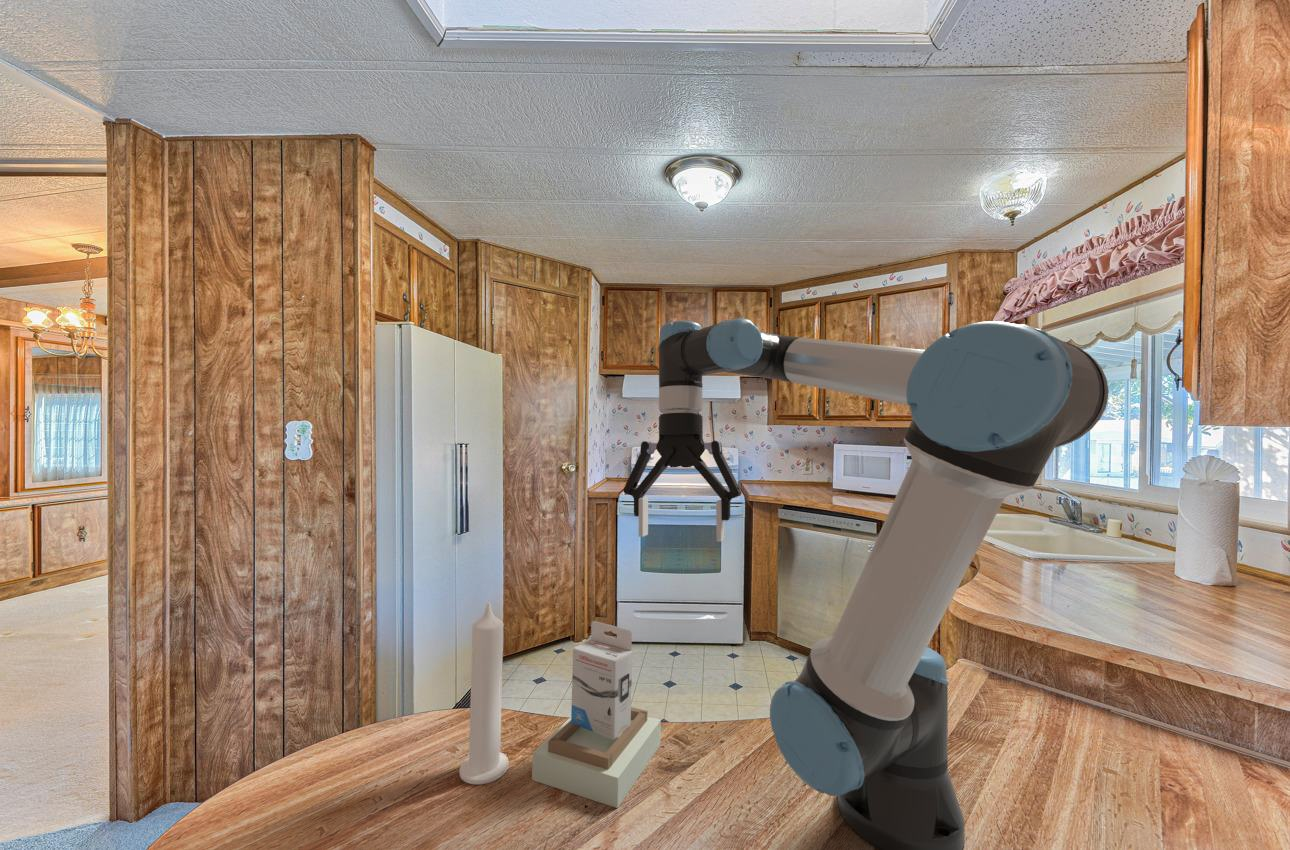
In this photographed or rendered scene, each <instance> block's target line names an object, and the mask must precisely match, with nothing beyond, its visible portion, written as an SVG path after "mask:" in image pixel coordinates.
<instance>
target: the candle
mask: <svg viewBox="0 0 1290 850" xmlns="http://www.w3.org/2000/svg"><path fill="white" fill-rule="evenodd" d="M471 636H472V638H471V669H470V670H471V671H470V672H471V673H470V674H471V675H470V704H469V705H470V707H469V741H468V743H469V744H468V745H469V746H468V757H466V759H464V760H463V761H462V763H461V765H460V767H459V771H458V772H459V777H460V779H461V780H462V781H463V782H465V783H466V784H470V785H484V784H489V783H493V782H494V781H495V782H496V781H497V780H498V779H500V778H501V777H503V776H504V775H505V774H506V772H507V771H508V769H509V762H510V761H509V757H508V756H507V755H506V754H505V753H503V752H501V732H502V731H501V729H502V697H503V695H502V693H503V660H504V659H503V657H504V656H503V655H504V653H503V649H504V648H503V647H504V622H503V620H501V619H500V618H498V617H497V616H496V615H494V613H493V609H492V604H491V602H490V601H488V602H486V607H485V609H484V613H483V615H482V617H480V618H479V619H477V620H476V621H475V622H474V623H473V625H472V635H471Z"/></svg>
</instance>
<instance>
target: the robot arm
mask: <svg viewBox="0 0 1290 850" xmlns="http://www.w3.org/2000/svg"><path fill="white" fill-rule="evenodd" d="M658 339H659V341H658V345H657V351H658V411H659V412H661V414H659V416H658V441H657V443H656V442H651V441H647V440H646V441H645V440H643V441H642V442H641V444H640V451H639V456H638V457H637V460H636V462H635V464H634V466H633V468H632V471H631V472H630V475H629V477H628V479H627V481H626V483H625V485H624V487H623V490H622V491H623V493H624V494H626V495H629V496H631V497H633V514H634V517H638V538H639V537H642V538H643V537H646V536H648V535H649V497H646V496H645V494H646V493H647V492H648V491H649V489H650V488H651V487H652V486H653V484H654V483H655V482H656V481H657V480H658V478H659V477H660V476H661V475H662V473H663V472H664V471H665V470H666V469H667V468H668V467H670V468H679V467H680V468H692V467H694V469H695V470H697V471H698V473H699V474H700V475H701V476H702V478H703V479H704V480H705V481H706V483H707V484H709V486H710V487H711V489H712V490H713V491H714V492H715V494H717V497H719V500H716V501H715V504H716V510H715V511H716V512H715V513H716V516H715V517H716V518H715V520H716V521H715V522H716V525H715V526H716V529H715V530H716V532H715V533H716V534H715V535H716V542H720V543H721V542H723V541H724V540H725V521H729V520H730V518H731V501H732V499H735V498H737V497H740V496H741V495H742V490H741V488H740V486H739V485H738V482H737V480H736V478H735V476H734V474H733V472H732V470H731V469H730V466H729V464H728V461H727V460H726V458H725V455H724V453H723V446H722V442H721V441H719V440H713V441H711V442H705V441H704V438H703V437H704V436H703V435H704V434H703V433H704V432H703V430H704V429H703V427H704V426H703V421H704V420H703V416H702V414H700V412H701V411H703V376H706V375H712V374H718V373H724V374H725V373H726V374H733V375H734V374H735V375H741V376H749V377H758V378H763V379H769V380H770V379H771V380H775V381H776V380H777V381H780V382H781V381H782V382H787V383H791V384H797V385H798V384H799V385H802V386H808V387H812V388H817V389H823V390H829V391H832V392H833V391H834V392H839V393H843V394H849V395H853V396H854V395H855V396H858V397H864V398H869V399H873V400H879V401H884V402H889V403H894V404H898V405H904V406H908V407H909V411H910V415H911V418H912V419H911V422H910V424H909V426H908V429H907V431H906V433H905V436H904V438H903V442H904V444H905V446H906V448H907V450H908V452H909V454H910V456H911V462H910V465H909V467H908V469H907V471H906V473H905V475H904V479H903V481H902V483H901V485H900V487H899V489H898V491H897V494H896V495H895V498H894V500H893V503H892V504H891V506H890V509H889V511H888V513H887V516H886V518H885V520H884V521H883V525H882V527H881V529H880V530H879V531H880V532H879V533H878V536H877V538H876V539H875V540H876V541H875V542H874V544H873V546H872V549H871V550H870V553H869V556H868V558H867V560H866V562H865V564H864V566H863V569H862V571H861V573H860V575H859V576H858V577H859V578H858V580H857V582H856V584H855V585H854V589H853V590H852V593H851V595H850V598H849V599H848V602H847V604H846V606H845V609H844V611H843V613H842V615H841V617H840V619H839V622H838V624H837V626H836V628H835V631H834V633H833V635H832V636H830V637H822V638H821V639H818V640H817V641H816V642H815V643H814V644H813V646H812V647H811V649H810V652H809V655H807V658H806V660H805V663H804V665H803V668H802V670H801V672H800V674H799V675H798V677H797V678H796V679H795V680H789V681H785V682H784V683H783V684H782V685H781V686H780V687H778V689H776V690H775V692H774V693H773V695H772V698H771V701H770V706H769V719H770V727H771V730H772V732H773V734H774V736H775V741H776V745H777V747H778V749H779V751H780V753H781V754H782V756H783V759H784V760H785V762H786V763H787V764H788V765H789V767H790V768H791V770H792V771H793V772H794V773H795V774H796V776H798V778H799V779H800V780H802V782H804V783H805V784H806V785H807V786H809V787H810V788H811V789H813V791H814V790H815V791H817V792H818V793H820V794H826V795H828V796H830V797H837V805H838V810H839V812H840V814H841V816H842V818H843V820H844V821H845V822H846V823H847V825H848V826H849V827H850V828H851V829H852V830H853V831H854V832H855V833H856V834H857V835H858V836H859V837H861V838H862V839H864V840H865V841H866V842H867V843H869V844H871V846H873V847H876V848H878V849H880V850H963V849H964V846H965V839H966V838H965V837H966V835H965V828H966V827H965V819H964V818H965V817H964V814H963V812H962V809H961V805H960V803H959V799H958V796H957V793H956V791H955V788H954V785H953V781H952V779H951V776H950V774H949V768H948V767H949V766H948V765H949V764H948V758H949V757H948V754H949V751H948V750H949V748H948V747H949V745H948V737H949V734H948V731H949V730H948V729H949V727H948V725H949V724H948V718H949V717H948V713H949V712H948V708H949V707H948V694H949V693H948V686H949V685H950V682H949V680H948V675H947V673H948V672H947V664H946V662H945V659H944V658H943V656H942V655H941V654H939V652H937V651H935V650H934V649H933V648H931V647H928V646H929V644H930V642H931V641H932V638H933V636H934V634H935V632H936V630H937V628H938V626H939V624H940V623H941V621H942V620H943V617H944V616H945V613H946V611H947V609H948V607H949V606H950V604H951V603H952V600H953V598H954V597H955V594H956V593H957V590H958V588H959V587H960V584H961V583H962V581H963V579H964V577H965V575H966V573H967V572H968V570H969V567H970V565H971V564H972V563H973V560H974V557H975V555H976V554H977V553H978V550H979V549H980V546H981V544H982V542H983V540H985V539H984V538H985V537H986V535H987V533H988V531H989V529H990V528H991V526H992V525H993V524H992V523H993V521H994V520H995V518H996V517H997V514H998V512H999V510H1000V508H1001V507H1002V504H1003V503H1004V500H1005V498H1007V497H1009V496H1010V495H1011V496H1012V495H1014V494H1017V493H1021V492H1025V491H1028V490H1032V489H1033V488H1034V486H1035V484H1036V482H1037V481H1038V479H1039V477H1040V475H1041V473H1042V471H1043V469H1044V468H1045V466H1046V465H1047V462H1048V461H1049V459H1050V457H1051V455H1052V453H1053V452H1054V450H1055V449H1056V448H1059V447H1062V446H1065V445H1069V444H1071V443H1073V442H1075V441H1077V440H1079V439H1081V438H1082V437H1083V436H1085V435H1086V434H1087V433H1088V432H1091V430H1092V429H1093V428H1094V427H1095V426H1096V425H1097V424H1098V422H1099V421H1100V419H1101V418H1102V416H1103V414H1104V413H1105V411H1106V408H1107V405H1108V400H1109V393H1110V391H1109V384H1108V379H1107V377H1106V374H1105V372H1104V370H1103V368H1102V366H1101V365H1100V364H1099V363H1098V362H1097V360H1096V359H1095V358H1094V357H1093V356H1092V355H1090V353H1088V352H1087V351H1085V350H1083V349H1082V348H1080V347H1078V346H1076V345H1074V344H1073V343H1069V342H1067V341H1064V340H1061V339H1059V338H1057V337H1055V336H1053V335H1051V334H1049V333H1048V332H1046V331H1045V330H1042V329H1039V328H1034V327H1032V326H1029V325H1027V324H1017V323H1011V322H1005V321H993V320H992V321H980V322H975V323H970V324H966V325H963V326H960V327H958V328H955V329H953V330H951V331H949V332H946V333H945V334H943V335H941V336H940V337H939V338H938V339H936V340H935V341H933V342H932V343H931V344H930V345H929V346H927V347H926V348H925V349H918V348H909V347H901V346H900V347H899V346H888V345H877V344H868V343H858V342H850V341H849V342H848V341H840V340H838V341H837V340H831V339H829V340H828V339H821V338H820V339H819V338H809V337H808V338H807V337H799V336H793V335H792V336H790V335H783V334H782V335H781V334H776V333H769V332H764V331H761V330H760V329H759V327H757V325H755V324H754V323H753V321H752V320H750V319H747V318H740V317H739V318H734V319H726V320H724V321H720V322H718V323H716V324H715V323H714V324H713V325H712V324H711V325H710V326H706V327H703V328H702V326H701V324H700V323H697V322H695V321H690V320H677V321H669V322H666V323H664V324H663V325H662V326H661V327H660V329H659V338H658ZM656 450H657V452H658V454H659V455H660V457H659V459H657V461H656V463H654V466H653V467H652V469H651V470H650V471H649V472H648V474H647V475H646V476H645V477H644V479H643V480H642V481H641V478H642V476H643V473H644V472H645V470H646V467H647V466H648V463H649V461H650V459H651V455H653V454H654V453H655V451H656ZM706 450H707V451H708V453H709V454H710V455H712V457H713V460H714V462H715V464H716V466H717V468H718V470H719V472H720V473H721V476H722V478H723V480H724V482H725V484H726V486H727V487H728V489H726V487H725V486H724V485H723V484H722V482H721V481H720V480H719V479H718V478H717V476H716V475H715V474H714V472H713V471H711V469H710V468H709V467H708V465H707V463H706V462H705V461H704V459H702V458H701V457H702V455H703V453H704V452H705V451H706ZM640 481H641V482H640ZM639 482H640V484H639ZM638 484H639V485H638Z"/></svg>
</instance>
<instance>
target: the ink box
mask: <svg viewBox="0 0 1290 850" xmlns="http://www.w3.org/2000/svg"><path fill="white" fill-rule="evenodd" d="M605 632H606V633H609V632H612V634H615V635H617V637H613V636H610V635H608V634H607V635H606V634H605ZM590 633H591V635H590V639H588V640H587V641H584V642H582V643H580V644H579V645H576V646H574V647H573V649H572V680H571V682H572V683H571V711H570V712H571V715H570V717H571V723H573V724H575V725H578V726H580V727H583V728H585V729H588V730H590V731H592V732H595V733H597V734H600V735H602V736H605V737H607V738H610V739H612V740H614V739H616V738H617V737H618V736H619V735H620V734H621V733H623V732H624V731H625V730H626V729H627V728H628V727H630V722H631V707H632V684H633V683H632V682H633V681H632V680H633V679H632V677H633V676H632V675H633V651H632V647H633V646H632V642H633V641H632V640H633V639H632V637H633V632H632V630H630V629H626V628H622V627H619V626H615V625H611V624H608V623H603V622H600V621H597V620H592V621H591V625H590Z"/></svg>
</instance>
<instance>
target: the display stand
mask: <svg viewBox="0 0 1290 850" xmlns="http://www.w3.org/2000/svg"><path fill="white" fill-rule="evenodd" d="M661 731H662V720H661V719H658V718H654V717H650V716H648V710H645V709H641V708H636V707H633V706H631V722H630V727H628V728H627V729H626V730H625V731H624V732H623V733H621V734H620V735H619V736H618V737H617V738H616V739H614V740H612V739H610V738H607V737H605V736H602V735H600V734H597V733H595V732H592V731H590V730H588V729H585V728H583V727H580V726H578V725H575V724H573V723H571V716H570V717H569V718H568V719H567V720H566V721H565V722H564V723H563V724H561V725H560V726H559V727H558V728H557V729H556V730H555V731H554V732H553V733H552V734H550V735H549V737H547V738H546V739H545V740H544V741H543V742H542V743H541V744H539V746H538V747H536V748H535V749H534V750H533V751H532V765H531V768H532V769H531V770H532V772H531V773H532V774H531V776H532V777H531V780H532V781H534V782H538V783H540V784H544V785H545V786H549V787H553V788H554V789H558V790H561V791H565V792H567V793H571V794H573V795H577V796H580V797H582V798H585V799H589V800H592V801H595V802H597V803H600V804H604V805H607V806H610V807H611V808H612V807H613V808H616V809H618V808H619V807H620V806H621V804H622V803H623V801H624V800H625V798H626V797H627V795H628V793H629V792H630V791H631V789H632V788H633V786H634V785H635V783H636V781H637V780H638V779H639V777H640V776H641V775H642V773H643V771H644V770H645V768H646V767H647V766H648V764H649V763H650V761H651V760H652V758H653V757H654V756H655V754H656V752H657V750H658V749H659V748H660V746H661V744H662V743H661V742H662V741H661V740H662V739H661V736H662V735H661V734H662V733H661Z"/></svg>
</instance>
